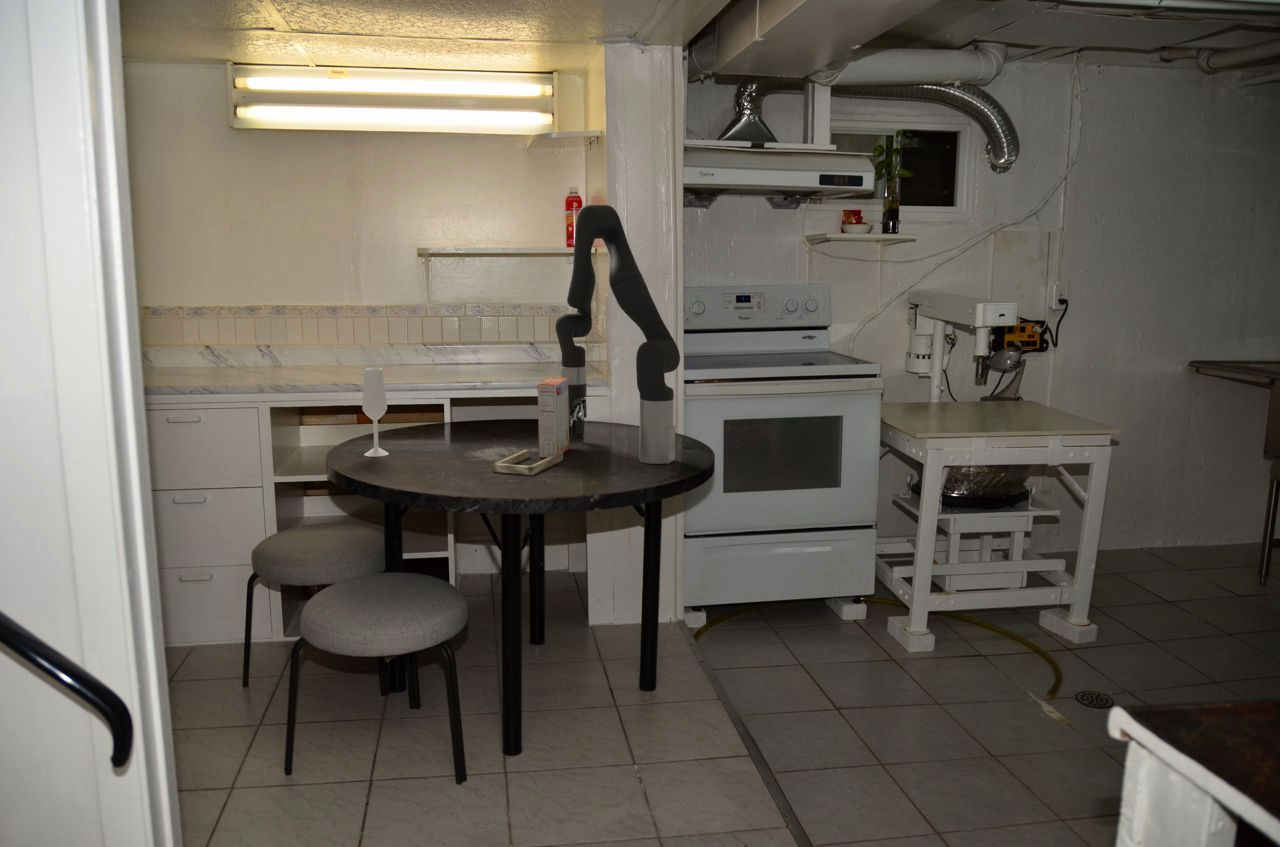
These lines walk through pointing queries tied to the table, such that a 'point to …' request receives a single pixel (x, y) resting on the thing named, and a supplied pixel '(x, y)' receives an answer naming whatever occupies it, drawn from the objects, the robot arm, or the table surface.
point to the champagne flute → (374, 404)
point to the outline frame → (508, 466)
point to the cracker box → (553, 417)
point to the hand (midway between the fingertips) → (573, 435)
